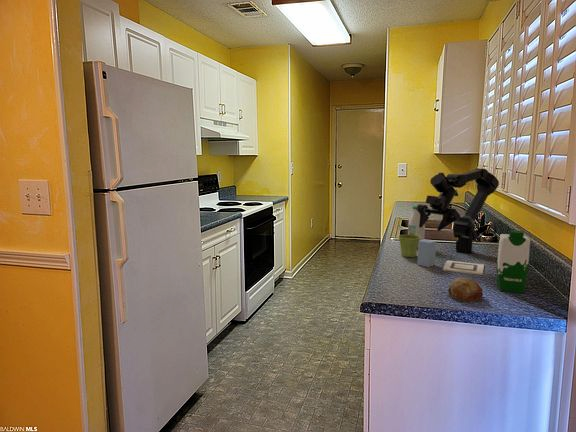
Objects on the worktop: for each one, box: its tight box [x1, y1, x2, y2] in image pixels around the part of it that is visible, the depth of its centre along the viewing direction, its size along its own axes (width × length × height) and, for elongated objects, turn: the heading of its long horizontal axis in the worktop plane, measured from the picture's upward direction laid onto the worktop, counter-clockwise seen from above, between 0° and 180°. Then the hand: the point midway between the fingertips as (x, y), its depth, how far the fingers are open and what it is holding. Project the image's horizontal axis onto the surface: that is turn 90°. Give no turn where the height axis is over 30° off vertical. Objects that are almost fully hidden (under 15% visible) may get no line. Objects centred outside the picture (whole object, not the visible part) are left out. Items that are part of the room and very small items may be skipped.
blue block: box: [416, 238, 437, 268], centre depth 167 cm, size 5×5×10 cm
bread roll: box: [447, 277, 484, 303], centre depth 131 cm, size 10×10×8 cm
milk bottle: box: [407, 204, 426, 249], centre depth 199 cm, size 8×8×20 cm
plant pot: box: [397, 234, 421, 258], centre depth 182 cm, size 9×9×9 cm
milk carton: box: [496, 230, 531, 294], centre depth 137 cm, size 9×9×20 cm
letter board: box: [442, 260, 485, 276], centre depth 163 cm, size 14×14×1 cm
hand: (428, 228), depth 174 cm, fingers open, 9 cm apart
